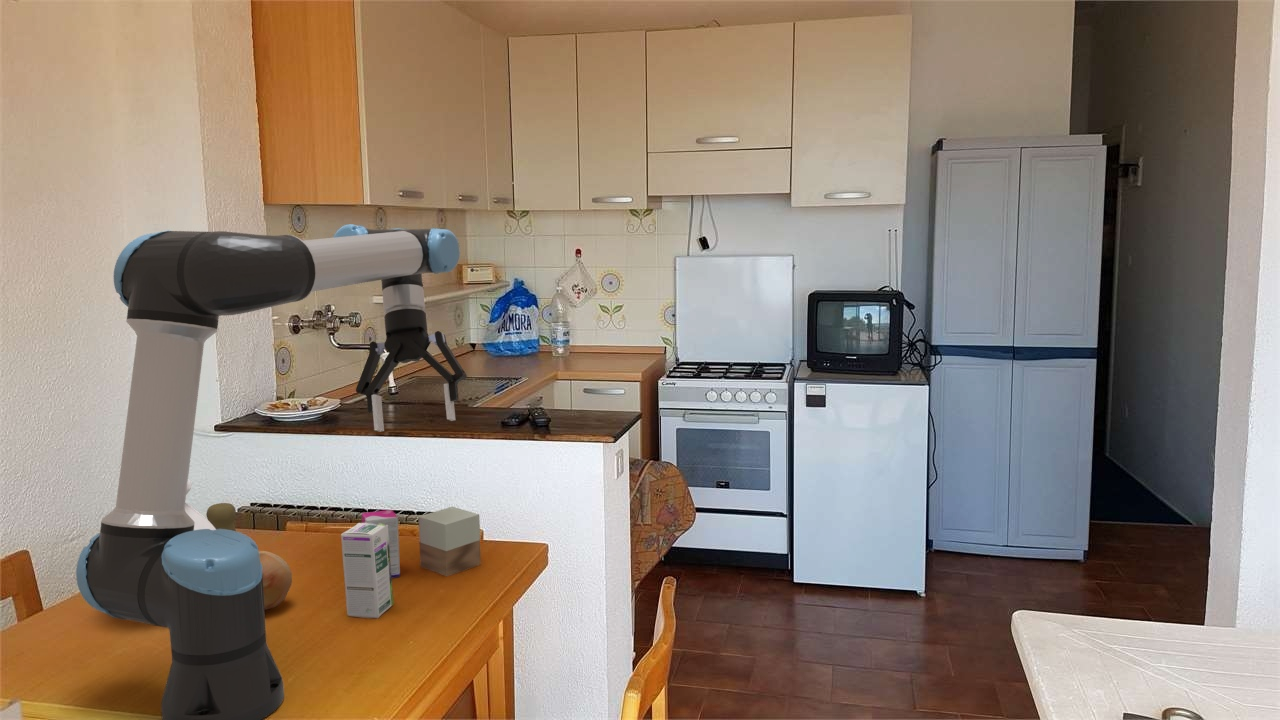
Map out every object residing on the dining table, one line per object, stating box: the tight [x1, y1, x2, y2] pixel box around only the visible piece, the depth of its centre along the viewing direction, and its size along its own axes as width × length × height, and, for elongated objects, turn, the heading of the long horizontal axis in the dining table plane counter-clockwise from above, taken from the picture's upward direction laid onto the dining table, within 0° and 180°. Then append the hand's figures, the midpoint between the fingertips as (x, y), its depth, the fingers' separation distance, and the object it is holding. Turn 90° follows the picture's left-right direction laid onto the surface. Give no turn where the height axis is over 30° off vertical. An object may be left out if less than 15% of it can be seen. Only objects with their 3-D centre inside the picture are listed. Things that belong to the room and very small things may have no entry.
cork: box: [205, 502, 237, 532], centre depth 187 cm, size 6×6×11 cm
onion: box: [259, 550, 293, 611], centre depth 162 cm, size 10×10×10 cm
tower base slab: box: [418, 539, 482, 577], centre depth 182 cm, size 8×8×5 cm
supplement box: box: [361, 509, 401, 579], centre depth 177 cm, size 6×6×12 cm
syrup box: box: [340, 522, 394, 619], centre depth 160 cm, size 6×6×14 cm
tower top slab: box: [417, 506, 481, 551], centre depth 181 cm, size 8×8×5 cm
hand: (415, 425), depth 175 cm, fingers open, 13 cm apart
